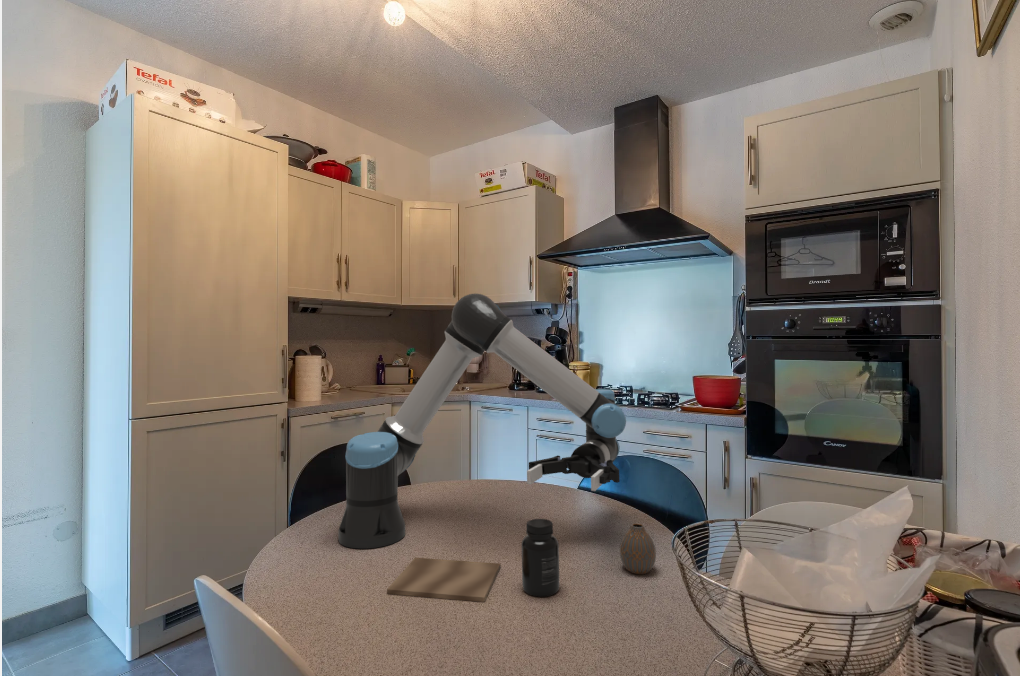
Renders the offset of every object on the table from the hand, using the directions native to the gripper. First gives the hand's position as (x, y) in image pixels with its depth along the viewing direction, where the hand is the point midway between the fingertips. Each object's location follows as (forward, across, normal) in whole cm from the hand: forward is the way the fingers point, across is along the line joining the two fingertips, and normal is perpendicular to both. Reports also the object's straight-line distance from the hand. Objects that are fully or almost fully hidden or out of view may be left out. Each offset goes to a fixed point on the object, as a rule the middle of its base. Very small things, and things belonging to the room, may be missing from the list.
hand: (559, 480), depth 102 cm
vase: (-5, -14, -18) cm, 23 cm away
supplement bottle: (+10, 0, -18) cm, 20 cm away
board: (+14, +18, -17) cm, 28 cm away
